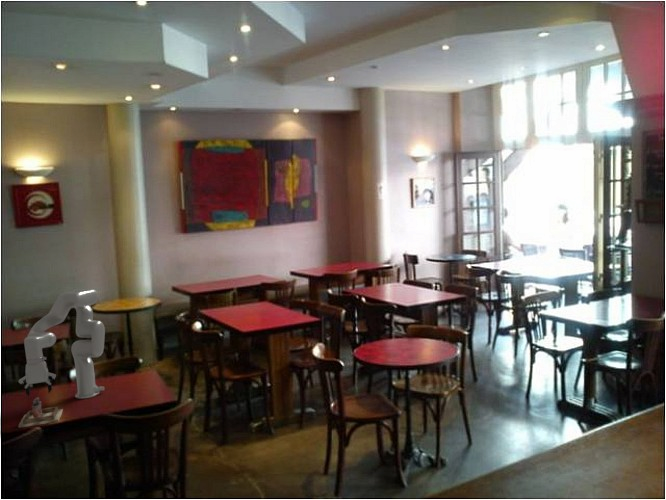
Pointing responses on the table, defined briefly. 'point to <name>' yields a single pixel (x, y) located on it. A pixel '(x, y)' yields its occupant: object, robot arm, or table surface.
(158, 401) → the table surface
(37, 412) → the lighter
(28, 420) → the square beige tray
